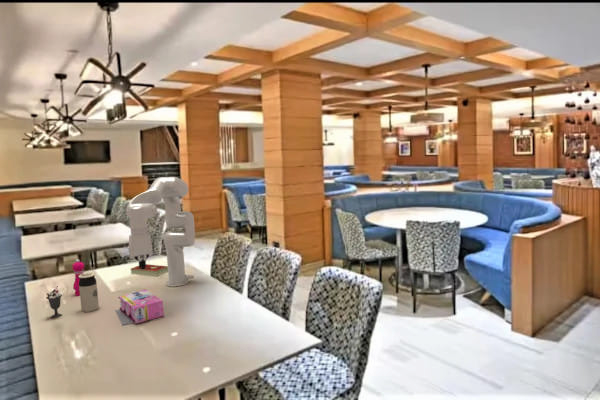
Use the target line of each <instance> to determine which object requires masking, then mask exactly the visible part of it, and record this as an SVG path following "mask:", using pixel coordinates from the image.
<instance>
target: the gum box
mask: <svg viewBox="0 0 600 400" xmlns="http://www.w3.org/2000/svg"><path fill="white" fill-rule="evenodd" d="M118 299H120V300H119V303H120V307H119V309H120V311H121V312H122V313H123V314H125V315H126V316H127V317H128V318H129V319H131V320H132V321H133V322H134V323H133V324H135V325H136V324H139V323H144V322H147V321H151V320H155V319H159V318H161V317H164V316H165V314H164V313H165V312H164V301H163V300H162V299H161V298H159V297H157V296H156V295H155V294H153V292H152V293H151V292H150V291H149V290H147V289H142V290H138V291H134V292H131V293H127V294H122V295H120V296H119V295H118Z"/></svg>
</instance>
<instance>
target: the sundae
mask: <svg viewBox="0 0 600 400" xmlns="http://www.w3.org/2000/svg"><path fill="white" fill-rule="evenodd" d="M61 297H63V294H61V293H60V292H59V290H58V289H57V287H54V289H53V290H51V291H50V292H49V293H46V300H48V303H49V306H50V309H52V310H54V314H53V315H51V316H50V318H51V319H58V318H61V317H62V316H63V314H62V313H59V312H58V309H59V308H60V307H61V300H62V299H61Z"/></svg>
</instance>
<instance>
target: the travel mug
mask: <svg viewBox="0 0 600 400" xmlns="http://www.w3.org/2000/svg"><path fill="white" fill-rule="evenodd" d="M95 276H96V273H94V272H86V273H85V272H84V273H83V274H81V275H79V278H80V281H79V291H80V296H79V299H80V307H81V312H83V313H90V312H95V311H96V310H98V309H99V308H100V305H99V295H98V285H97V279H96V278H95Z"/></svg>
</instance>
